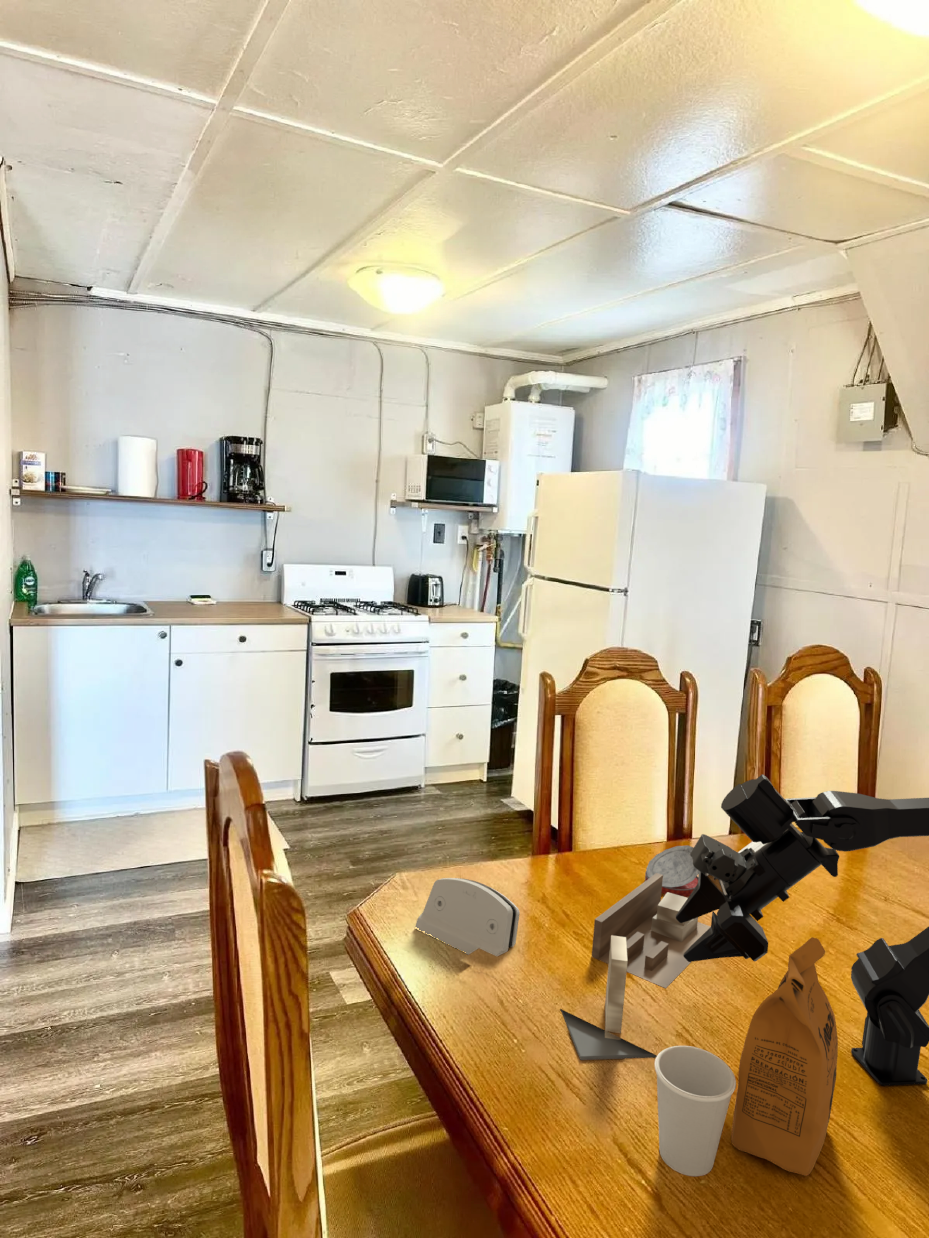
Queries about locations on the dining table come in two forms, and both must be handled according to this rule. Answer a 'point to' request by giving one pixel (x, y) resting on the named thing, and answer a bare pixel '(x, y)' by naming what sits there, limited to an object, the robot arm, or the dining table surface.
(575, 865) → the dining table surface
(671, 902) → the offcut stack
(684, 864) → the canned food
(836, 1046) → the coffee package
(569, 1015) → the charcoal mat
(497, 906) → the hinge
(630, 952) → the grey desk organizer
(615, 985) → the birch board
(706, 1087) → the dixie cup
